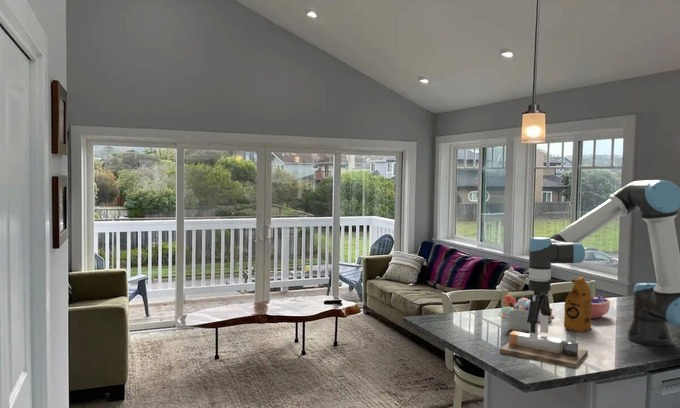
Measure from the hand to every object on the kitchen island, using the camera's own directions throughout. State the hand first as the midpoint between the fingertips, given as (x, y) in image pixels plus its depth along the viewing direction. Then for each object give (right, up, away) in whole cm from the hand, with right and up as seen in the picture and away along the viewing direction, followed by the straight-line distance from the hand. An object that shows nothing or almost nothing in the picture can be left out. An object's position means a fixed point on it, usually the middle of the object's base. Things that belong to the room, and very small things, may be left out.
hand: (538, 336), depth 189 cm
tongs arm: (-2, -4, 0) cm, 5 cm away
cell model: (+44, -5, +53) cm, 69 cm away
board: (+1, -6, -1) cm, 6 cm away
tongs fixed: (+1, -4, -1) cm, 5 cm away
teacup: (+3, -5, +30) cm, 31 cm away
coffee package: (+29, -5, +33) cm, 44 cm away
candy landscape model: (+15, -5, +53) cm, 56 cm away
